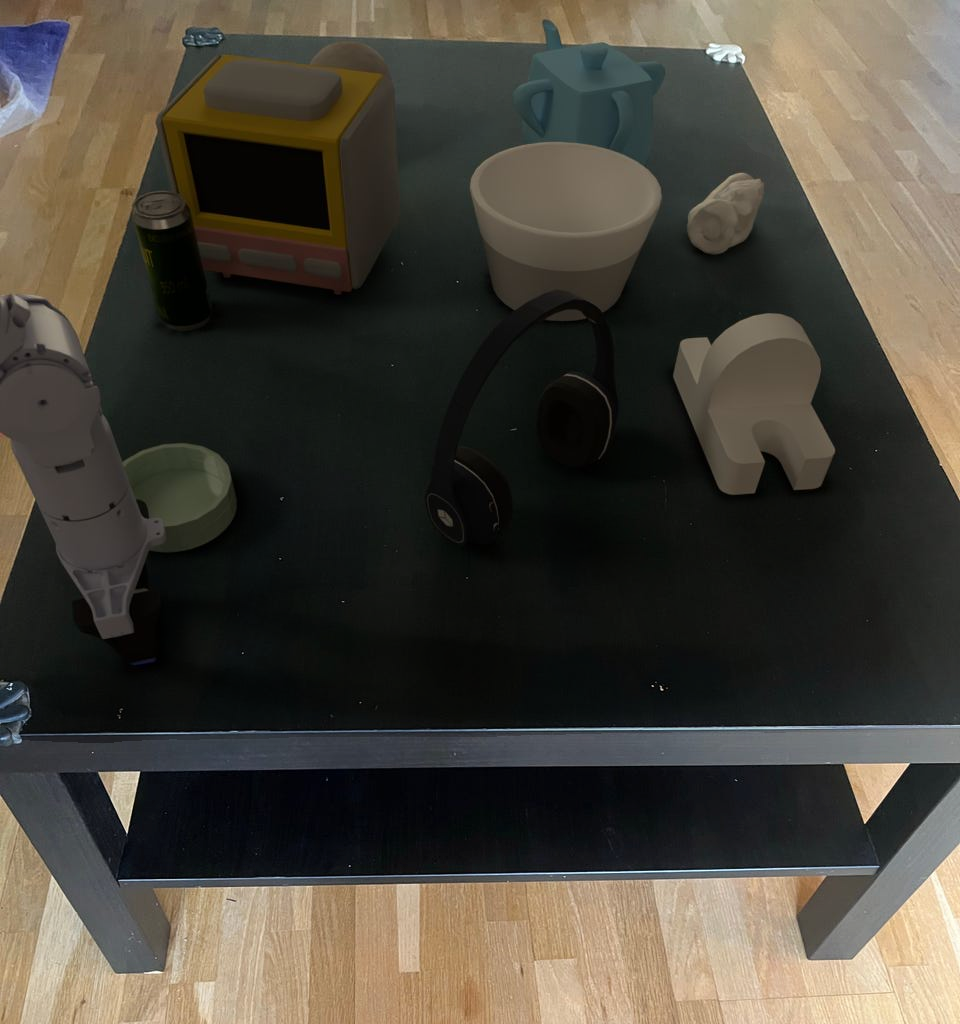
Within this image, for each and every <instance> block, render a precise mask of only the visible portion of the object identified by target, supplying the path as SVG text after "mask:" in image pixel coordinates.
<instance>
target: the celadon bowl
mask: <svg viewBox="0 0 960 1024" xmlns="http://www.w3.org/2000/svg"><path fill="white" fill-rule="evenodd" d="M122 462H123V465H124V468H125V471H126V474H127V477H128V480H129V483H130V486H131V488H132V491H133V494H134V496H135V499H139V500H142V501H144V502H145V503H146V505H147V508H148V513H149V519H152V518H159V519H161V520H162V521H163V524H164V527H165V534H166V541H165V542H164V543H163V544H160V545H156V546H153V547H151V548H150V549H149V552H157V553H178V552H185V551H188V550H192V549H195V548H198V547H200V546H203V545H205V544H208V543H209V542H211V541H213V540H215V539H216V538H217V537H218V536H220V535H221V534H222V533H223V532H225V531H226V530H227V528H228V527H229V526H230V524H231V523H232V521H233V519H234V518H235V516H236V512H237V506H238V501H237V495H236V491H235V486H234V481H233V478H232V473H231V469H230V466H229V464H228V463H227V462H226V461H225V460H224V459H223V457H222V456H221V455H220V454H219V453H218V452H216V451H213V450H211V449H209V448H208V447H205V446H203V445H197V444H191V443H185V442H177V443H162V444H160V445H156V446H152V447H149V448H146V449H143V450H140V451H139V452H137V453H135V454H133V455H132V456H130V457H128V458H126V459H125V460H124V461H122Z"/></svg>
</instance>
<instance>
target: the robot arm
mask: <svg viewBox="0 0 960 1024" xmlns="http://www.w3.org/2000/svg"><path fill="white" fill-rule="evenodd" d="M108 421H109V420H108V419H107V418H106V416H105V414H103V409H102V406H101V391H100V388H99V387H98V386H96V385H95V383H94V380H93V377H92V374H91V371H90V368H89V365H88V363H87V359H86V357H85V353H84V350H83V347H82V345H81V342H80V337H79V336H78V333H77V331H76V330H75V328H74V327H73V325H72V323H71V321H70V319H68V317H67V316H66V315H65V314H64V313H63V312H62V311H61V310H59V308H58V307H55V306H53V305H52V303H51V302H50V301H49V300H48V299H47V298H45V297H43V296H39V295H34V294H28V293H10V294H0V434H2V435H4V436H5V437H6V438H8V439H10V447H11V450H12V453H13V455H14V457H15V459H16V462H17V464H18V466H19V467H20V470H21V472H22V474H23V476H24V478H25V481H26V483H27V484H28V487H29V489H30V491H31V494H32V495H33V498H34V500H35V502H36V504H37V507H38V509H39V511H40V513H41V515H42V518H43V519H44V521H45V523H46V526H47V528H48V530H49V532H50V534H51V536H52V538H53V541H54V543H55V550H56V554H57V556H58V559H59V561H60V563H61V565H62V566H63V568H64V569H65V570H66V572H67V574H68V575H69V577H70V578H71V580H72V581H73V583H74V585H75V586H76V587H77V589H78V591H79V592H80V594H81V595H82V598H77V599H73V600H71V616H72V621H73V623H74V625H75V626H76V628H77V629H78V631H79V632H80V633H82V634H85V635H90V636H92V637H95V638H97V639H99V640H101V641H103V642H104V643H106V644H107V645H108V646H109V647H110V648H111V649H113V650H114V651H115V652H116V654H117V655H119V656H120V658H122V659H123V660H124V661H125V662H126V663H128V664H131V663H134V662H139V661H144V660H148V659H153V658H155V657H156V658H157V651H158V649H157V640H156V632H155V627H156V623H157V622H158V621H157V620H158V619H159V617H160V614H161V608H162V607H161V606H162V604H161V602H162V601H161V596H160V589H159V588H153V589H149V575H148V569H147V568H148V567H147V561H146V560H147V557H148V554H149V552H150V550H149V549H150V548H151V547H153V546H156V545H160V544H163V543H164V542H165V541H166V534H165V527H164V524H163V521H162V520H161V519H159V518H152V519H149V513H148V508H147V505H146V503H145V502H144V501H142V500H139V499H135V496H134V494H133V491H132V488H131V486H130V483H129V480H128V477H127V474H126V471H125V468H124V465H123V462H124V461H123V459H122V458H121V455H120V452H119V451H120V450H119V449H118V446H117V443H116V440H115V437H114V435H113V432H112V428H111V426H110V423H109V422H108ZM142 588H146V589H148V591H143V592H138V593H134V590H136V589H142Z"/></svg>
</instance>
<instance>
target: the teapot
mask: <svg viewBox="0 0 960 1024" xmlns="http://www.w3.org/2000/svg"><path fill="white" fill-rule="evenodd" d="M541 25H542V28H543V32H544V36H545V51H540V52H536V53H535V54H534V55H532V60H531V64H530V69H529V74H528V79H527V82H525V83H523V84H520V85H519V86H517V87H516V88H515V90H514V92H513V95H512V102H513V106H514V108H515V110H516V113H517V114H518V115H519V117H520V118H521V126H522V127H521V128H522V135H523V140H524V145H527V144H534V143H545V142H567V143H579V144H586V145H592V146H597V147H601V148H605V149H609V150H612V151H614V152H617V153H620V154H623V155H625V156H627V157H629V158H631V159H633V160H635V161H637V162H638V163H640V164H641V165H642V166H644V167H645V166H646V165H647V162H648V159H649V157H650V152H651V145H652V136H653V126H654V97H655V96H656V94H657V93H658V91H659V89H660V88H661V86H662V84H663V82H664V79H665V76H666V67H665V66H664V65H663V64H662V63H660V62H658V61H652V60H649V61H640V62H635V61H634V60H633V59H631V57H629V56H627V55H626V54H624V53H623V52H622V51H620V50H618V49H617V48H615V46H613V45H611V44H609V43H606V42H603V41H601V42H593V43H592V42H591V43H586V44H579V45H573V46H567V47H563V43H562V39H561V34H560V31H559V28H558V27H557V25H556V24H555V23H554V22H553V21H552V20H549V19H546V18H545V19H542V21H541ZM645 168H646V167H645Z"/></svg>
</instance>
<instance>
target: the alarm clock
mask: <svg viewBox="0 0 960 1024" xmlns="http://www.w3.org/2000/svg"><path fill="white" fill-rule="evenodd" d="M395 92H396V89H395V86H394V84H393V81H392V82H391V80H390V79H389V78H388V77H387V76H386V75H385V76H383V75H382V74H379V73H371V72H362V71H354V70H346V69H338V68H330V67H322V66H314V65H309V64H305V63H299V62H297V63H296V62H289V61H281V60H274V59H273V60H272V59H267V58H266V59H264V58H258V57H249V56H241V55H232V54H226V53H224V54H223V55H221V54H218V55H216V56H214V57H213V58H211V60H210V61H209V62H208V63H207V64H206V65H205V66H204V67H203V68H202V69H201V70H200V71H199V72H198V73H197V74H196V75H195V76H194V77H193V78H192V79H191V80H190V81H189V83H187V84H186V85H185V86H184V87H183V88H182V89H181V90H180V91H179V92H178V93H177V94H176V96H175V97H173V98H172V99H171V100H170V102H168V104H167V105H165V107H164V108H163V109H162V110H161V111H160V112H158V114H157V116H156V119H155V126H156V130H157V136H158V138H159V139H158V140H159V143H160V148H161V152H162V156H163V157H162V158H163V161H164V164H165V165H164V166H165V171H166V174H167V178H168V183H169V186H170V191H171V192H176V193H178V194H180V195H182V196H183V197H184V198H185V201H186V204H187V206H188V207H189V208H190V211H191V216H192V220H193V224H194V229H195V233H196V238H197V242H198V247H199V251H200V256H201V260H202V265H203V269H204V271H208V272H215V273H222V275H223V277H224V278H225V279H227V278H231V277H232V275H235V276H241V277H247V278H254V279H260V280H268V281H272V282H273V281H274V282H281V283H288V284H293V285H299V286H306V287H314V288H320V289H326V290H333V294H334V295H342V293H343V292H346V293H350V292H351V291H352V290H353V289H354V290H357V289H360V288H362V285H363V284H364V283H365V281H366V279H367V277H368V276H369V274H370V272H371V270H372V268H373V267H374V265H375V263H376V261H377V259H378V257H379V255H380V254H381V252H382V250H383V248H384V246H385V244H386V243H387V241H388V239H389V237H390V236H391V234H392V232H393V230H394V229H395V226H396V224H397V223H398V221H399V219H400V217H401V207H400V186H399V185H400V184H399V161H398V159H399V158H398V139H397V137H398V136H397V114H396V113H397V111H396V93H395Z"/></svg>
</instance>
